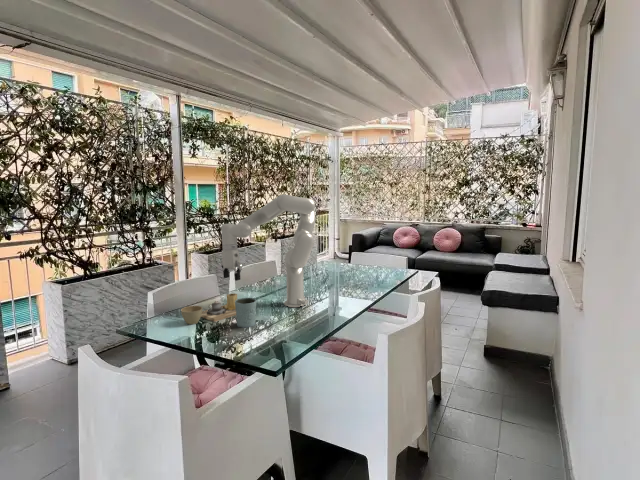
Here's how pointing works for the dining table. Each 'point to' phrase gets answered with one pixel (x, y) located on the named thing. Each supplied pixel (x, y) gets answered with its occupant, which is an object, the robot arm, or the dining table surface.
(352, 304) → the dining table surface
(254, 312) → the grey cup
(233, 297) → the brass gear
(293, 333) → the dining table surface
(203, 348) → the dining table surface
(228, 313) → the gear board
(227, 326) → the dining table surface
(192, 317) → the flower pot
